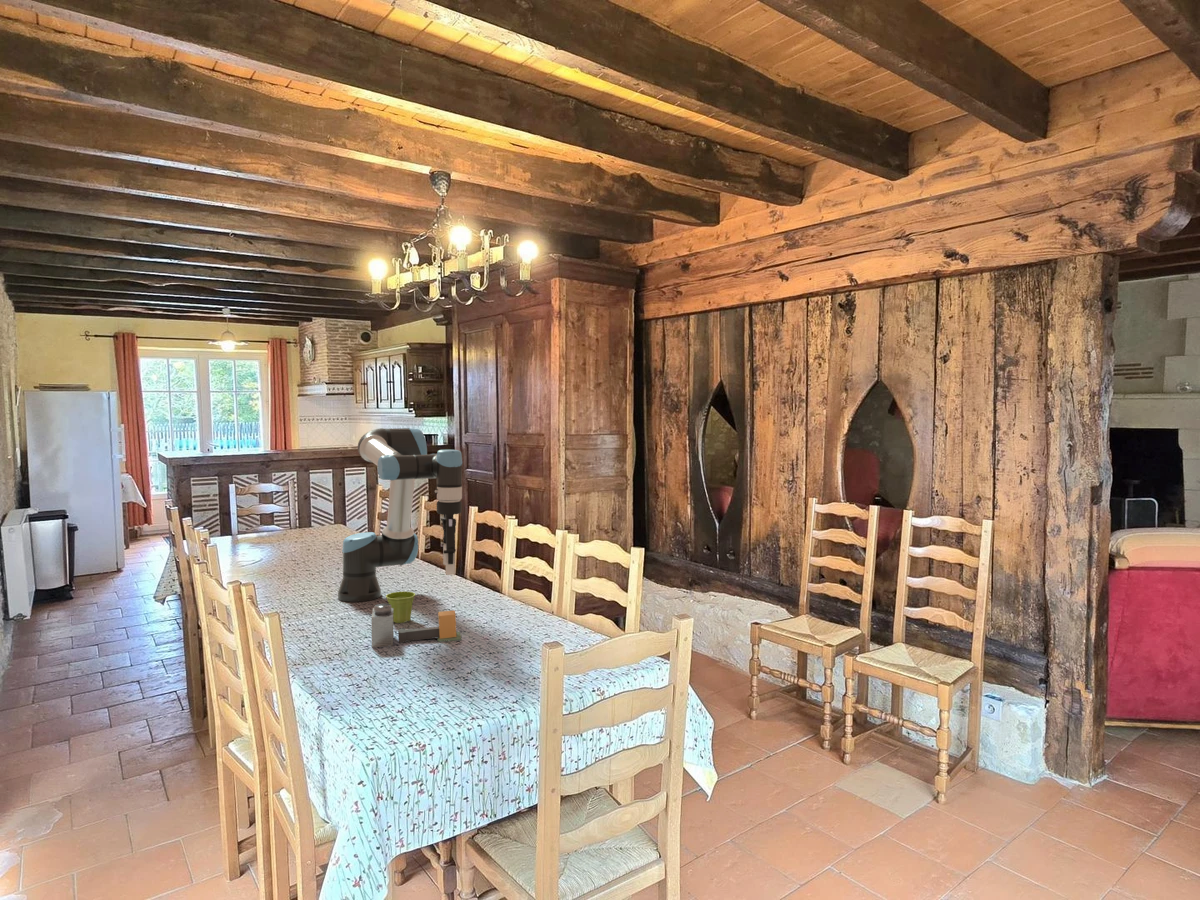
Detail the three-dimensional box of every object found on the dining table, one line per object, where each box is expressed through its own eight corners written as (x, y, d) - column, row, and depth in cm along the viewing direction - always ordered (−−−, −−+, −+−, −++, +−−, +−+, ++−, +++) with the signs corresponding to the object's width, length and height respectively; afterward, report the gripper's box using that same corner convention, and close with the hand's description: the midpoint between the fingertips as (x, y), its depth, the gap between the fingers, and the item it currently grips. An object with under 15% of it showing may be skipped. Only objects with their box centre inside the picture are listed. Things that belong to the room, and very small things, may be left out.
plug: (399, 638, 216) (397, 616, 216) (455, 632, 220) (454, 610, 220) (398, 643, 212) (397, 620, 211) (456, 636, 216) (455, 614, 216)
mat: (436, 634, 220) (436, 633, 220) (459, 633, 222) (459, 631, 222) (437, 641, 214) (437, 640, 214) (461, 640, 215) (461, 638, 215)
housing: (373, 638, 216) (372, 602, 216) (393, 636, 218) (393, 601, 217) (371, 647, 208) (371, 610, 207) (392, 646, 209) (392, 609, 209)
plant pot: (385, 625, 229) (385, 599, 228) (386, 617, 238) (386, 592, 237) (415, 623, 231) (415, 597, 231) (415, 615, 240) (415, 590, 240)
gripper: (435, 495, 227) (434, 561, 228) (438, 506, 203) (438, 579, 204) (458, 495, 229) (458, 560, 230) (464, 505, 205) (464, 578, 206)
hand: (449, 569), depth 217 cm, fingers open, 13 cm apart
